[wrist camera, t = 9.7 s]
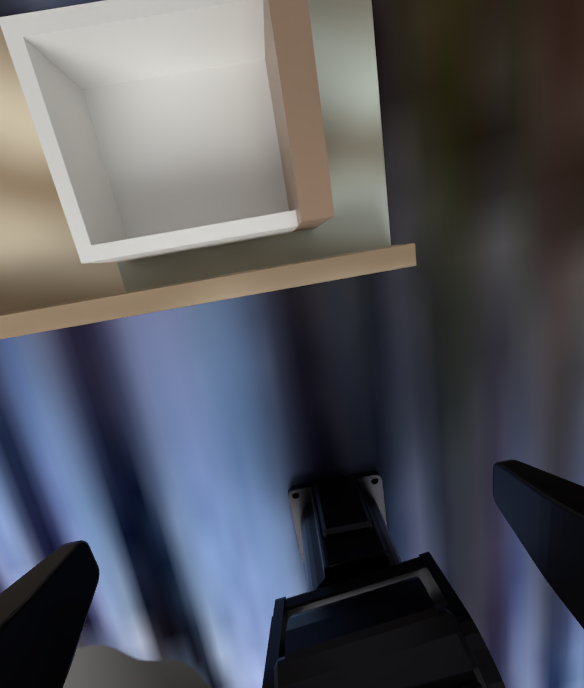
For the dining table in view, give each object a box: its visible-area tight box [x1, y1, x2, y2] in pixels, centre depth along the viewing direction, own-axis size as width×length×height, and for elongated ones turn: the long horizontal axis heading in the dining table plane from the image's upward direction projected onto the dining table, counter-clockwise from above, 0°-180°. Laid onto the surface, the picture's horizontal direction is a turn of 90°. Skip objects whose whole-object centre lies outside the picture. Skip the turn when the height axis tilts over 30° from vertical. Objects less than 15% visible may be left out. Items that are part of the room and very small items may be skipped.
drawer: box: [0, 0, 334, 263], centre depth 13 cm, size 8×10×6 cm
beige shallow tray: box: [0, 0, 416, 339], centre depth 15 cm, size 13×27×4 cm, turn 100°
